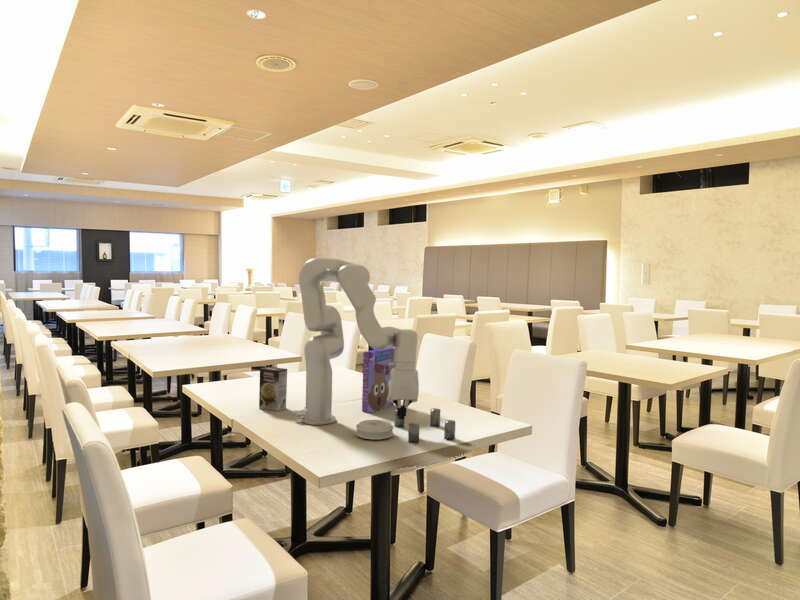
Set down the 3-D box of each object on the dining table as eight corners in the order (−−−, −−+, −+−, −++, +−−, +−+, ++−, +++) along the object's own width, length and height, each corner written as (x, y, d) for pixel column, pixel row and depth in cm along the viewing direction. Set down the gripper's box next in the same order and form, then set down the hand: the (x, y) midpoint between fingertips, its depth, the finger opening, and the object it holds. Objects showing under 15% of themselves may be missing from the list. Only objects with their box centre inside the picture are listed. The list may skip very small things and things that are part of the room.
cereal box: (372, 413, 217) (373, 352, 216) (362, 411, 219) (363, 351, 218) (393, 404, 233) (395, 347, 231) (383, 403, 235) (385, 346, 234)
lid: (395, 432, 193) (396, 418, 192) (389, 443, 180) (390, 428, 180) (360, 430, 194) (360, 416, 194) (351, 440, 182) (352, 425, 182)
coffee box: (258, 408, 219) (258, 368, 218) (268, 405, 225) (268, 366, 224) (277, 411, 216) (278, 370, 215) (287, 408, 222) (287, 368, 221)
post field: (409, 444, 179) (410, 425, 179) (393, 425, 201) (393, 408, 201) (457, 441, 183) (458, 423, 183) (436, 423, 205) (437, 407, 205)
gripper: (385, 367, 184) (382, 421, 185) (428, 368, 188) (424, 421, 189) (380, 363, 191) (377, 415, 192) (422, 364, 195) (418, 415, 196)
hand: (401, 418), depth 191 cm, fingers closed
